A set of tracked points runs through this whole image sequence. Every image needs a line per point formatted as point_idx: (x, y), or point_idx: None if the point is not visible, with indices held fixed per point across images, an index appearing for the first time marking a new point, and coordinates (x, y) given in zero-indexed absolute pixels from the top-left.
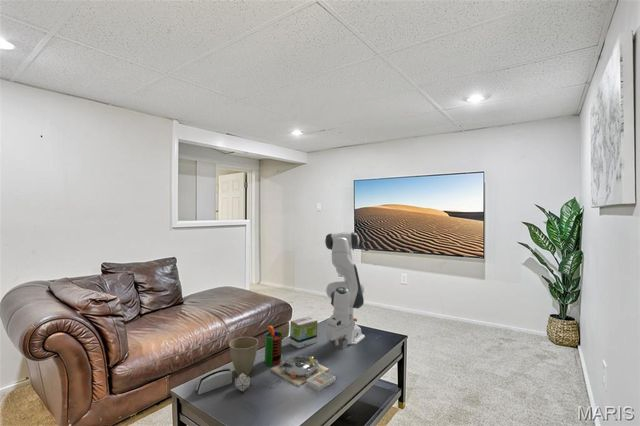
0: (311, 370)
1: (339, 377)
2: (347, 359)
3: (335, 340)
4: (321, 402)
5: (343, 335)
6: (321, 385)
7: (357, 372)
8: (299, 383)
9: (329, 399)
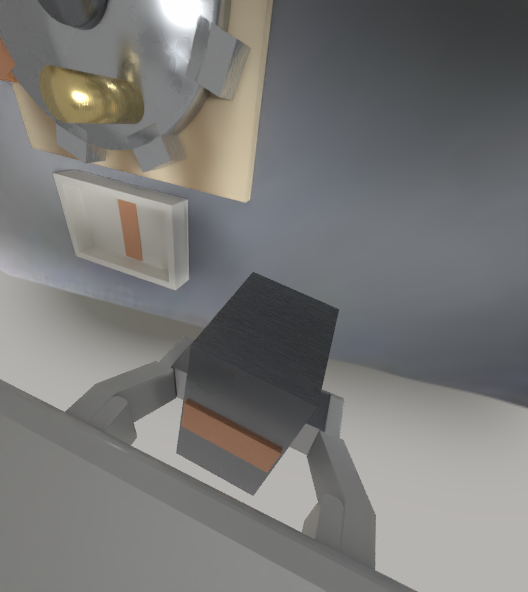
0: (101, 144)
1: (228, 282)
2: (486, 246)
3: (136, 376)
4: (72, 283)
5: (332, 477)
6: (91, 260)
7: None
8: (37, 141)
9: (100, 299)
